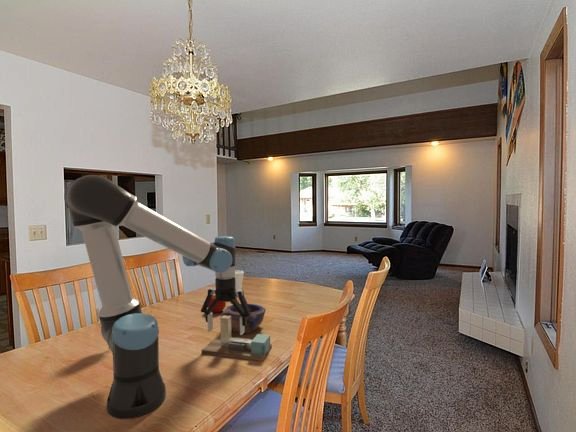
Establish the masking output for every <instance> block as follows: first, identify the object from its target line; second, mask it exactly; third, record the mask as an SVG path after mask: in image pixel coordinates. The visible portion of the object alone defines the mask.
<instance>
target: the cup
mask: <svg viewBox="0 0 576 432" xmlns="http://www.w3.org/2000/svg"><path fill="white" fill-rule="evenodd" d="M244 274H245V272H244V270H238V269H237V270H236V269H235V276H234V277H235V289H236V291H240V290H243V289H242V286H243V279H244V276H245V275H244Z"/></svg>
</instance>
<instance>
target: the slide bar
mask: <svg viewBox="0 0 576 432" xmlns="http://www.w3.org/2000/svg"><path fill="white" fill-rule="evenodd" d="M219 321H220V323H219V324H220V328H219V329H220V339H221V347H229V343H230V342H232V343H241V344H245V349H246V350H251V341H252V340H253V339H250V340H248V339H249V338H246V339H239V338H240V337H237V338H235V337H232V329H231V316H226V315H223V316H222V317H221V316H220V319H219Z"/></svg>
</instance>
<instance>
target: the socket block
mask: <svg viewBox="0 0 576 432" xmlns="http://www.w3.org/2000/svg"><path fill="white" fill-rule="evenodd" d="M251 340H252V341H251V354H260V355H265V353H266V352H267V350H268V349H269V348H270V344H271V335H270V334H262V333H257V334H256V335H255V336H254V337H253V339H251Z"/></svg>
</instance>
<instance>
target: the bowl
mask: <svg viewBox="0 0 576 432" xmlns="http://www.w3.org/2000/svg"><path fill="white" fill-rule="evenodd" d="M247 304H248V306H249V308H250V310H251V315H250V316H248V317H247V324H246V325H245V326H244V330H245V332H244V333H243V334H245V333H246V334H247V333H251V332H254V331H255V330H256V329H257V328H259V326H260V325H261V324H262V322H263V321H264V317H265V313H266V308H265V307H264V306H262V305H258V304H252V303H247ZM240 305H241V303H240ZM241 306H242V305H241ZM242 308H243V307H242ZM223 315H226V316H231V331H233V332H235V333H239V334H240V317H241V315H240V314H239V312H238V311H237V310H236V308H235V307H234V306H233V304H231V305H228V306H226V307H225V308H224V310H223V311H221V314H220V318H221V317H222V316H223Z"/></svg>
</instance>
